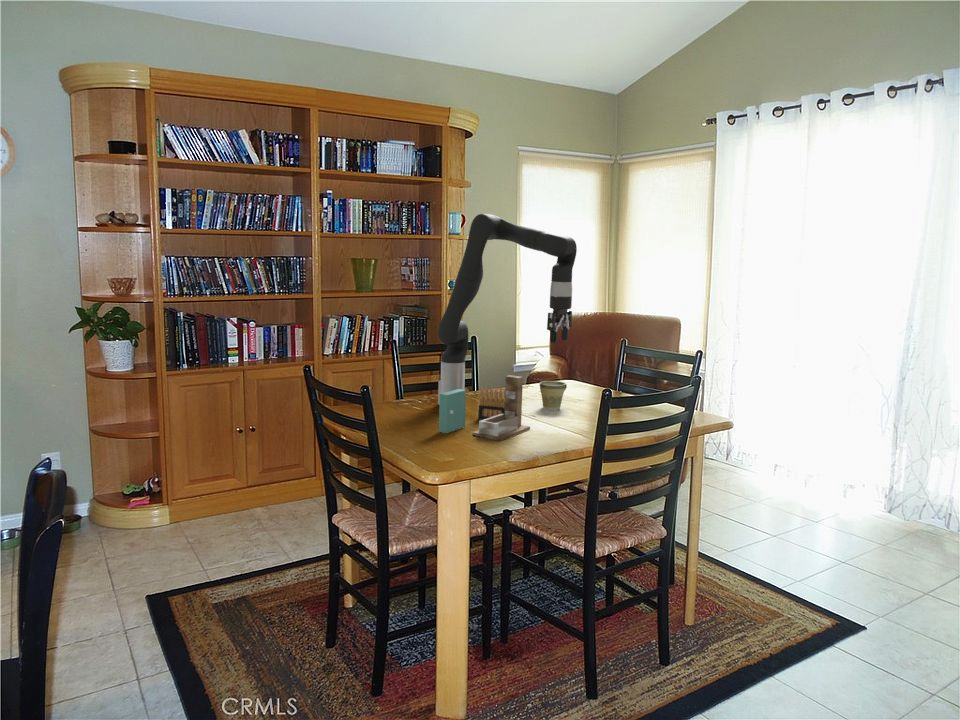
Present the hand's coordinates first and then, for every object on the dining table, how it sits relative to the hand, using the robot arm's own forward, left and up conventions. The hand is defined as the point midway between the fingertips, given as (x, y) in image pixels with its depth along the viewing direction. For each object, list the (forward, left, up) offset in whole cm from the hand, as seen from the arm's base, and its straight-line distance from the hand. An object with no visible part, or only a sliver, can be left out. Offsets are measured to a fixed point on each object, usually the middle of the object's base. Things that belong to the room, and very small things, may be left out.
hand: (558, 341), depth 257 cm
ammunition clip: (-20, -10, -30) cm, 37 cm away
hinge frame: (-8, -24, -29) cm, 38 cm away
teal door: (-23, -31, -29) cm, 48 cm away
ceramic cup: (-12, +22, -30) cm, 39 cm away
